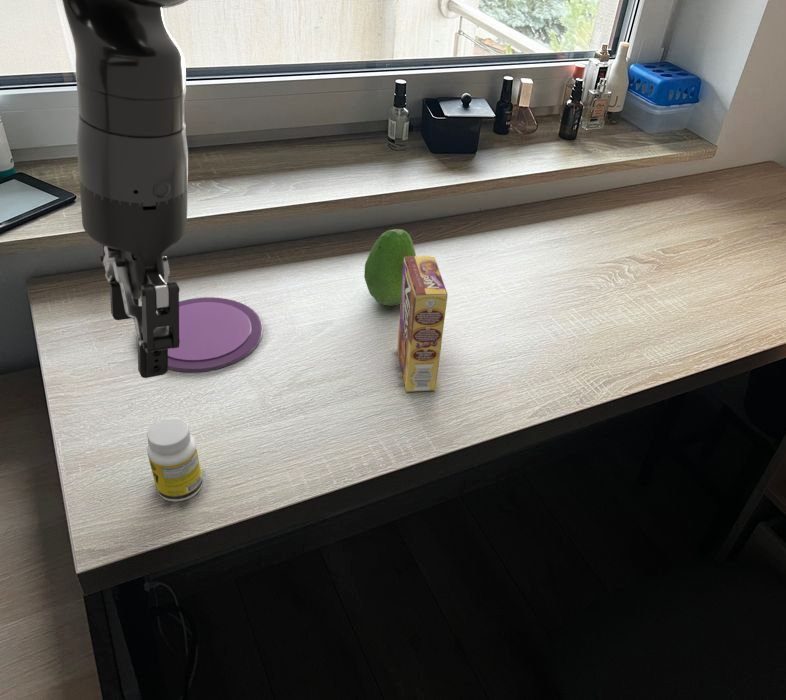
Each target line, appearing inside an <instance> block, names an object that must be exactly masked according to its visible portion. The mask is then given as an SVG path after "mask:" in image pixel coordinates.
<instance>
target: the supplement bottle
mask: <svg viewBox="0 0 786 700" xmlns="http://www.w3.org/2000/svg"><path fill="white" fill-rule="evenodd" d="M146 437H147V444H148V446H147V450H146V452H147V457H148V462H149V466H150V469H151V472H152V476H153V480H154V484H155V488H156V491H157V494H158V495H159V496H160V497H161V498H162V499H164V500H166V501H169V502H181V501H186V500H189V499H191V498H193V497H195V496H196V495H197V494H198V493H199V492H200V490H201V489H202V486H203V483H204V477H203V472H202V468H201V463H200V462H201V461H200V458H199V453H198V448H197V442H196V439H195V438H194V436H193V435H192V434H191V431H190V426H189V425H188V423H187V422H186V421H185V420H183V419H181V418H178V417H165V418H161V419H159V420H157V421H155V422H154V423H152V424H151V425H150V426H149V427H148V429H147V433H146Z"/></svg>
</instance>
